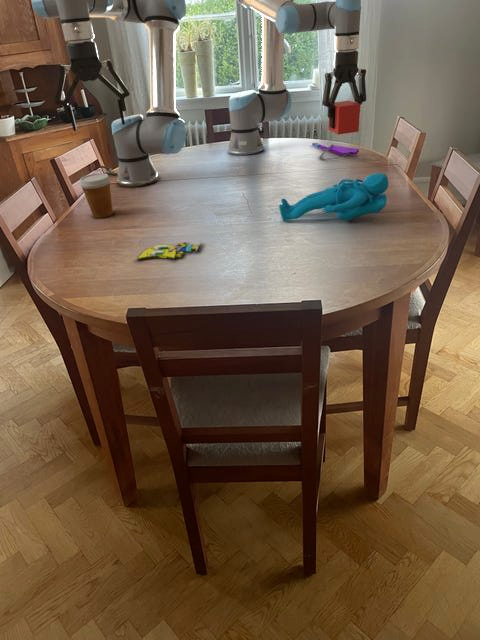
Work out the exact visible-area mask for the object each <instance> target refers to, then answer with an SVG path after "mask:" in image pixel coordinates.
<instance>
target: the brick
mask: <svg viewBox="0 0 480 640" xmlns="http://www.w3.org/2000/svg"><path fill="white" fill-rule="evenodd" d="M333 107H334V108H335V128H330V118H328V124H327V125H328V127H327V129H328V131H329V132H332V133H334V134H336V135H344V134H345V135H346V134H351V133H352V134H353V133H359V131H360V118H361V117H360V115H361V105H360V104H358V103H355V101H352V100H341V101H335V103H334V106H333Z"/></svg>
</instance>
